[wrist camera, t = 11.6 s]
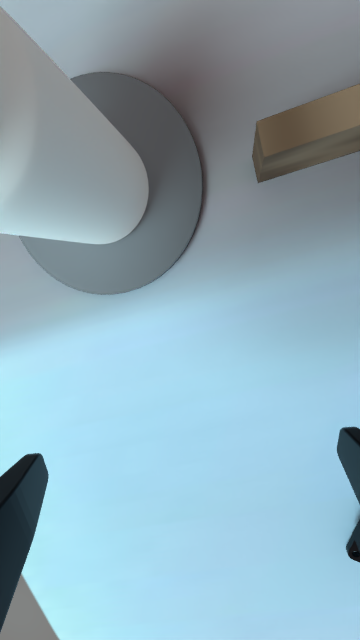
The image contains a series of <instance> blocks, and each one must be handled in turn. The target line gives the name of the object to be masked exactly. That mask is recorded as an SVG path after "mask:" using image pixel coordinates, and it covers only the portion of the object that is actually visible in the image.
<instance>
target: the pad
mask: <svg viewBox="0 0 360 640" xmlns="http://www.w3.org/2000/svg"><path fill="white" fill-rule="evenodd" d="M70 80H71V81H72V82H73V83H74V84H75V85H76V86H77V87H78V88H79V89H80V90H81V91H82V92H83V94H84V95H85V96H86V97H87V98H88V99H89V100H90V101H91V102H92V103H93V104H94V105H95V106H96V108H97V109H98V110H99V111H100V112H101V113H102V114H103V115H104V116H105V117H106V118H107V119H108V121H109V122H110V123H111V124H112V125H113V126H114V127H115V128H116V129H117V130H118V131H119V132H120V134H121V135H122V136H123V137H124V138H125V139H126V140H127V141H128V142H129V144H130V145H131V146H132V147H133V148H134V149H135V151H136V152H137V153H138V155H139V156H140V158H141V160H142V162H143V164H144V167H145V169H146V173H147V177H148V184H149V194H148V201H147V206H146V209H145V212H144V214H143V216H142V218H141V220H140V222H139V223H138V225H137V226H136V227H135V228H134V229H133V230H132V231H131V232H130V233H129V234H128V235H127V236H125V237H124V238H122V239H120V240H118V241H116V242H112V243H108V244H88V243H79V242H70V241H62V240H53V239H45V238H37V237H29V236H20V235H19V237H20V239H21V241H22V243H23V244H24V246H25V247H26V249H27V251H28V252H29V254H30V255H31V256H32V257H33V259H34V260H35V261H36V262H37V264H38V265H39V266H41V267H42V268H43V269H44V270H45V271H46V272H47V273H48V274H49V275H51V276H52V277H53V278H55V279H56V280H58V281H60V282H61V283H63V284H65V285H67V286H69V287H71V288H74V289H76V290H79V291H83V292H87V293H92V294H100V295H106V294H118V293H125V292H128V291H131V290H135V289H138V288H141V287H143V286H145V285H147V284H149V283H151V282H153V281H154V280H156V279H157V278H159V277H160V276H162V275H163V274H164V273H165V272H166V271H167V270H168V269H170V268H171V267H172V266H173V264H174V263H175V262H176V261H177V260H178V259H179V258H180V256H181V255H182V253H183V252H184V250H185V249H186V247H187V245H188V243H189V241H190V240H191V238H192V236H193V233H194V231H195V228H196V225H197V222H198V219H199V214H200V210H201V204H202V194H203V184H202V171H201V164H200V160H199V156H198V152H197V149H196V146H195V143H194V141H193V138H192V136H191V134H190V131H189V129H188V127H187V125H186V124H185V122H184V120H183V119H182V117H181V115H180V114H179V113H178V112H177V110H176V109H175V108H174V106H173V105H172V104H171V103H170V102H169V101H168V100H167V99H166V98H165V97H164V96H163V95H162V94H161V93H159V92H158V91H156V90H155V89H154V88H152V87H151V86H149V85H148V84H146V83H144V82H142V81H140V80H138V79H135V78H132V77H129V76H126V75H123V74H116V73H110V72H100V73H90V74H84V75H80V76H77V77H74V78H71V79H70Z"/></svg>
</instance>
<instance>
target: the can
mask: <svg viewBox="0 0 360 640" xmlns="http://www.w3.org/2000/svg"><path fill="white" fill-rule="evenodd" d="M148 194H149V184H148V177H147V173H146V169H145V167H144V164H143V162H142V160H141V158H140V156H139V155H138V153H137V152H136V151H135V149H134V148H133V147H132V146H131V145H130V144H129V142H128V141H127V140H126V139H125V138H124V137H123V136H122V135H121V134H120V132H119V131H118V130H117V129H116V128H115V127H114V126H113V125H112V124H111V123H110V122H109V121H108V119H107V118H106V117H105V116H104V115H103V114H102V113H101V112H100V111H99V110H98V109H97V108H96V106H95V105H94V104H93V103H92V102H91V101H90V100H89V99H88V98H87V97H86V96H85V95H84V94H83V92H82V91H81V90H80V89H79V88H78V87H77V86H76V85H75V84H74V83H73V82H72V81H71V80H70V79H69V77H68V76H67V75H66V74H65V73H64V72H63V71H62V70H61V69H60V68H59V67H58V66H57V65H56V64H55V62H54V61H53V60H52V59H51V58H50V57H49V56H48V55H47V54H46V53H45V52H44V51H43V50H42V49H41V48H40V47H39V45H38V44H37V43H36V42H35V41H34V40H33V39H32V38H31V37H30V36H29V35H28V34H27V33H26V32H25V31H24V30H23V29H22V28H21V27H20V25H19V24H18V23H17V22H16V21H15V20H14V19H13V18H12V17H11V16H10V15H9V14H8V13H7V12H6V11H5V10H4V9H3V8H1V7H0V233H4V234H12V235H20V236H29V237H37V238H45V239H53V240H62V241H70V242H79V243H88V244H108V243H112V242H116V241H118V240H120V239H122V238H124V237H125V236H127V235H128V234H129V233H130V232H131V231H132V230H133V229H134V228H135V227H136V226H137V225H138V223H139V222H140V220H141V218H142V216H143V214H144V212H145V209H146V206H147V201H148Z"/></svg>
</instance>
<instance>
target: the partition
mask: <svg viewBox="0 0 360 640" xmlns="http://www.w3.org/2000/svg"><path fill="white" fill-rule="evenodd" d="M357 151H360V84H358V85H355V86H352V87H350V88H347V89H344V90H342V91H339V92H336V93H333V94H331V95H328V96H325V97H322V98H320V99H317V100H314V101H311V102H309V103H306V104H303V105H300V106H298V107H295V108H292V109H289V110H287V111H284V112H281V113H278V114H276V115H273V116H270V117H268V118H265V119H262V120H259V121H257V123H256V131H255V139H254V147H253V155H252V158H253V162H254V167H255V172H256V177H257V181H258V183H259V182H263V181H266V180H269V179H272V178H275V177H278V176H281V175H285V174H288V173H291V172H294V171H297V170H300V169H303V168H307V167H310V166H313V165H316V164H319V163H322V162H325V161H329V160H332V159H335V158H338V157H341V156H344V155H348V154H351V153H354V152H357Z"/></svg>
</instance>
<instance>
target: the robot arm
mask: <svg viewBox="0 0 360 640" xmlns="http://www.w3.org/2000/svg"><path fill="white" fill-rule="evenodd" d="M337 453H338V456H339V459H340V461H341V463H342V466H343V468H344V470H345V472H346V475H347V477H348V479H349V481H350V484H351V486H352V488H353V490H354V493H355V495H356V497H357V499H358V502H359V504H360V429H359V428H357V427H344V428H342V429H341V430H340V433H339V439H338V445H337ZM47 483H48V471H47V468H46V465H45V462H44V459H43V456H42V455H41V454H40V453H35V454H27V455H25V456H24V457H22V458H21V459H20V460H19V461H18V462H17V463H16V464H14V465H13V466H12V467H11V468H10V469H9V470H8V471H6V472H5V473H4V474H3V475H2V476H1V477H0V632H1V629H2V626H3V623H4V621H5V618H6V615H7V612H8V609H9V606H10V603H11V600H12V598H13V595H14V592H15V589H16V587H17V584H18V581H19V578H20V575H21V572H22V569H23V567H24V564H25V561H26V558H27V555H28V552H29V550H30V547H31V544H32V541H33V538H34V534H35V531H36V527H37V523H38V519H39V515H40V511H41V507H42V503H43V499H44V495H45V491H46V487H47ZM352 534H353V535H352V537H351V538H350V540H349V542H348V544H347V546H346V550H347V553H348V556H349V557H350V558H351V559H353V560H355V561H357V562H360V520H359V522H358V524H357V525H356V527H355V529H354V531H353V533H352ZM353 551H356V552H353Z"/></svg>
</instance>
